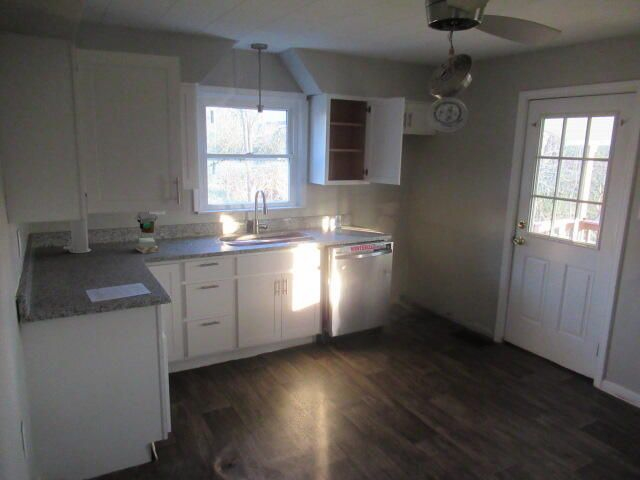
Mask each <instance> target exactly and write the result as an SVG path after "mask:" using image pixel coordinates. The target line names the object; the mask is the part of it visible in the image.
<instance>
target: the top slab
mask: <svg viewBox="0 0 640 480" xmlns="http://www.w3.org/2000/svg"><path fill="white" fill-rule="evenodd" d="M138 244H139V245H140V246H141V248H148V247H155V246H156V240H155V239H154V238H153V237H141V238H140V237H139V238H138Z"/></svg>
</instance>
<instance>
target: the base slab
mask: <svg viewBox="0 0 640 480" xmlns="http://www.w3.org/2000/svg"><path fill="white" fill-rule="evenodd" d="M135 248H136V250H137V251H139V252H140V253H142V254H149V253H150V254H152V253H159V247H158V246H157V245H155V247H148V248H141V246H140V245H139V243H137V244H135Z"/></svg>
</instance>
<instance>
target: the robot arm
mask: <svg viewBox="0 0 640 480" xmlns="http://www.w3.org/2000/svg"><path fill="white" fill-rule="evenodd" d="M158 217H159V216H157V215H156V213H155V214H149V213H147V212H138V211H137V215H136V216H135V217H134V219H135V220H136V221H137V222H138V223H139V228H140V230H141V229H143V224H142V222H143V221H142V220H144V219H145V218H155V221H156V220H157V219H158ZM140 219H141V221H140ZM88 230H89V229H88V219H87V220H86V221H71V220H70V231H71V232H70V233H71V244H70V245H67V246H66V245H64V246H63V250H69V253H72V254H85V253H90V252H91V251H92V249H91V248H89V235H88V234H89V233H88V232H89V231H88Z"/></svg>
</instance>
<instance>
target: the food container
mask: <svg viewBox="0 0 640 480" xmlns="http://www.w3.org/2000/svg"><path fill="white" fill-rule="evenodd" d="M139 220H140V221H141V219H139ZM142 221H143V222H142V224H143V229H140V230H141V232H140V233H142V234H143V233H145V234H153V233H154V232H155V231H154V230H155V222H156V220H155V218H145V219H144V220H142Z"/></svg>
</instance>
